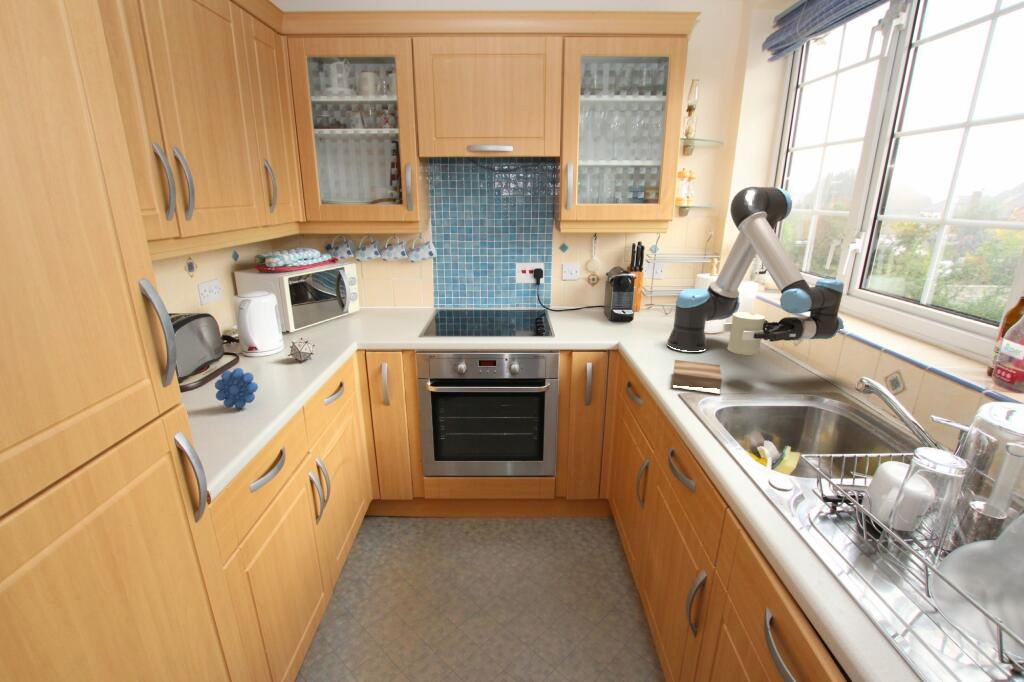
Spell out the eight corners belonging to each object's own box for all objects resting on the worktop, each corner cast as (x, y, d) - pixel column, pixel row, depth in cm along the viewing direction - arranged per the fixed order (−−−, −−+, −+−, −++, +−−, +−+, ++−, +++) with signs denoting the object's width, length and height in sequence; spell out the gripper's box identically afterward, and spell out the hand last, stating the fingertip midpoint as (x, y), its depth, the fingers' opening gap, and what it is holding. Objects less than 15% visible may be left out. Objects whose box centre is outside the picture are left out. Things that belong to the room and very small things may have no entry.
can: (763, 350, 150) (769, 314, 146) (753, 357, 144) (759, 319, 140) (733, 344, 156) (739, 309, 153) (722, 350, 150) (728, 313, 146)
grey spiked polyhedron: (299, 372, 168) (279, 355, 162) (302, 357, 174) (282, 340, 168) (320, 360, 167) (301, 342, 161) (322, 346, 174) (303, 328, 167)
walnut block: (673, 373, 161) (675, 359, 160) (717, 379, 157) (719, 364, 155) (672, 388, 149) (673, 373, 147) (719, 394, 144) (722, 379, 143)
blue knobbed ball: (268, 402, 135) (262, 362, 131) (256, 412, 128) (249, 371, 125) (227, 402, 134) (220, 362, 131) (213, 412, 128) (205, 371, 124)
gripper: (820, 349, 142) (754, 353, 138) (769, 330, 163) (711, 333, 158) (825, 326, 140) (759, 329, 136) (773, 309, 160) (714, 311, 156)
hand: (733, 331), depth 147 cm, fingers closed on can, 9 cm apart
